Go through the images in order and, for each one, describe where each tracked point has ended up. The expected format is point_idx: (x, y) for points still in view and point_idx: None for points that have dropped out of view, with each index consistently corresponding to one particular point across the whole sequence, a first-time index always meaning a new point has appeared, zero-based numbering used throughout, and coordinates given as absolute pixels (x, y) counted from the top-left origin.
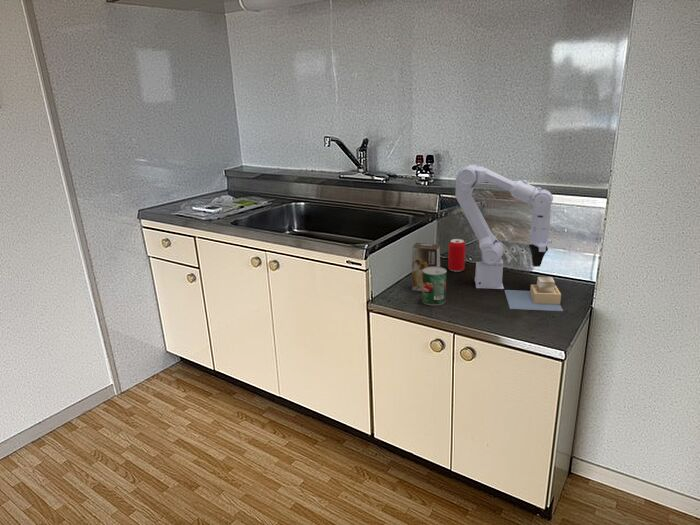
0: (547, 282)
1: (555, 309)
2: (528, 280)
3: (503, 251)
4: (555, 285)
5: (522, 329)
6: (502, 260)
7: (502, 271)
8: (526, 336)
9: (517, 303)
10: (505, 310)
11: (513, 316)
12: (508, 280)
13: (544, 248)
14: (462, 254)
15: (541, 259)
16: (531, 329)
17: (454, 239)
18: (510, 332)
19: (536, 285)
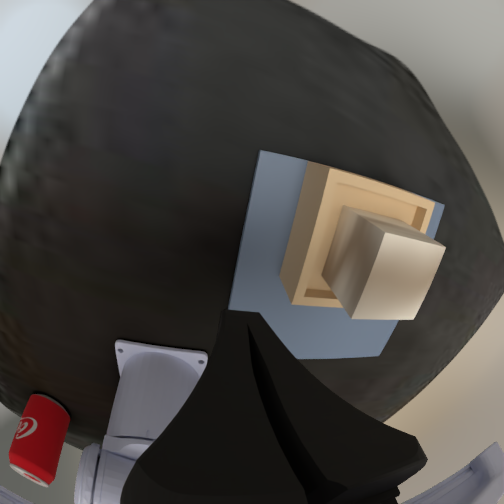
0: (428, 283)
1: (430, 226)
2: (73, 220)
3: (112, 479)
4: (331, 171)
5: (455, 331)
6: (137, 445)
7: (166, 407)
8: (472, 326)
9: (354, 335)
10: (371, 360)
11: (407, 345)
12: (88, 306)
13: (500, 470)
14: (45, 445)
15: (293, 364)
16: (463, 315)
17: (17, 471)
18: (451, 351)
19: (308, 279)
